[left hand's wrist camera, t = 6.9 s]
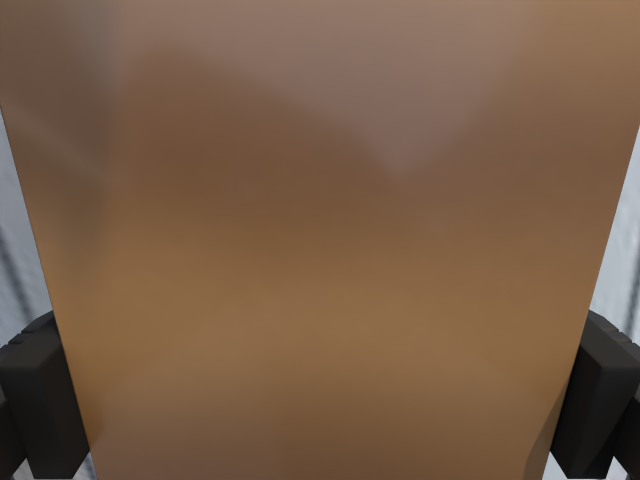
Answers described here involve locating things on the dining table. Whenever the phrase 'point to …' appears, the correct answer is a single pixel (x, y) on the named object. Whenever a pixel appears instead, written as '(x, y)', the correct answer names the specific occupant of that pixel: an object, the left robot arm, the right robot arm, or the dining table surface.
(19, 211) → the dining table surface
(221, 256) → the wooden beam
